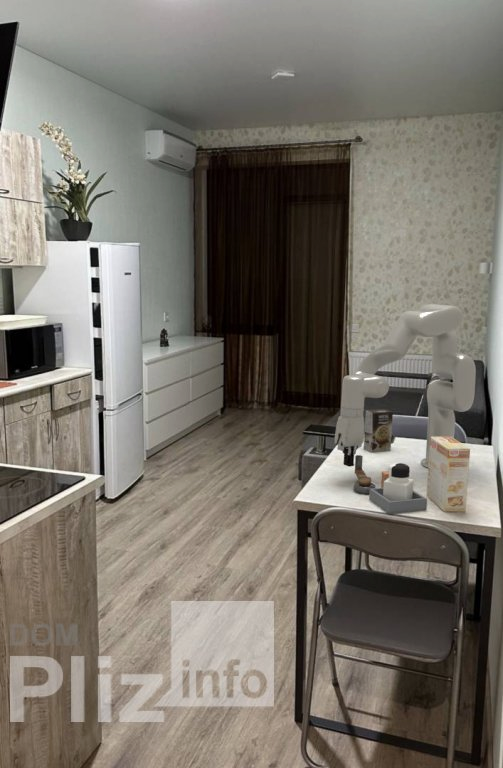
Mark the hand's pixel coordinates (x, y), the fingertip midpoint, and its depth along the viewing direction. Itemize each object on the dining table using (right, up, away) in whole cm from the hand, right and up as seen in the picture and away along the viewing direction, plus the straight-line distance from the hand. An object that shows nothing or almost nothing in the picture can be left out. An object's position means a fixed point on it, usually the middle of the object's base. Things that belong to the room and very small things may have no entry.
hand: (348, 465), depth 219 cm
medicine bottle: (+12, -9, -21) cm, 26 cm away
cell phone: (+25, +3, +58) cm, 63 cm away
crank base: (+4, -7, -9) cm, 12 cm away
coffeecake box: (+27, -9, -19) cm, 35 cm away
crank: (+4, -4, -5) cm, 7 cm away
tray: (+12, -9, -21) cm, 26 cm away
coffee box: (+18, +1, +40) cm, 44 cm away
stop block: (+11, -8, -12) cm, 17 cm away
